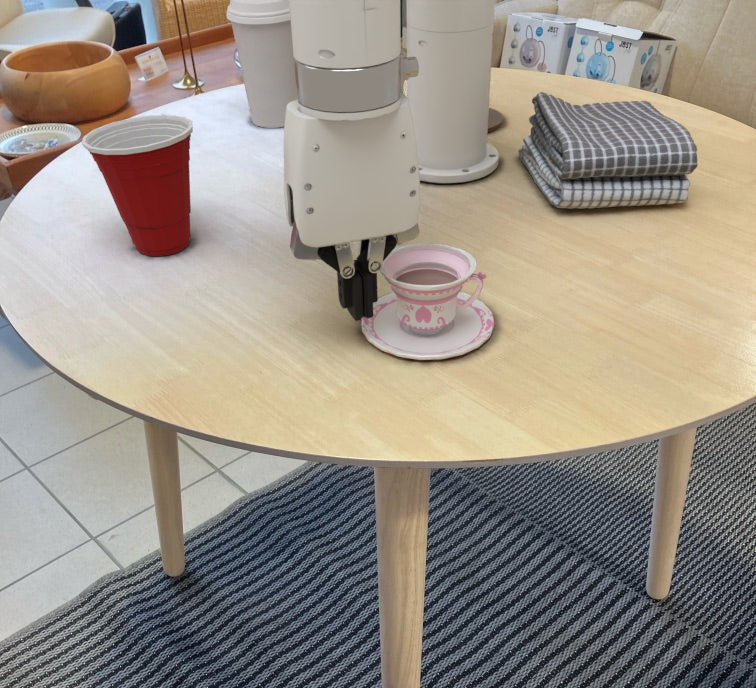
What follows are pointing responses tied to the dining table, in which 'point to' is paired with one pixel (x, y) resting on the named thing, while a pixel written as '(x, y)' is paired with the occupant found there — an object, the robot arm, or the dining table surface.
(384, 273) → the teacup
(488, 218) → the dining table surface
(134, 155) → the plastic cup
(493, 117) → the coaster
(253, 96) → the coffee cup
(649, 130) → the towel
